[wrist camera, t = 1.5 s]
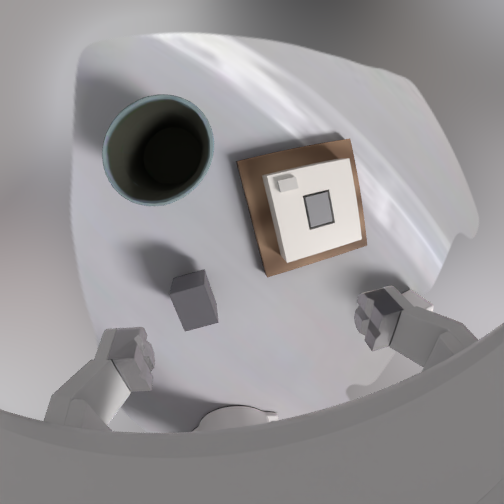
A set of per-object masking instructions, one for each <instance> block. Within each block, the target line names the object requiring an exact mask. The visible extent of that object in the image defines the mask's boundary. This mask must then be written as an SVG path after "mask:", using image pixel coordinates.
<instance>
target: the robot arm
mask: <svg viewBox="0 0 504 504" xmlns="http://www.w3.org/2000/svg"><path fill="white" fill-rule="evenodd" d="M357 303H358V304H359V307H358V308H357V309H356V311H355V316H354V320H355V325H356V328H357V330H358V331H359V333H361V334H363V335H365V342H366V343H367V345H368V346H369V348H370V349H371V351H375V350H378V349H382V348H385V347H388V346H390V348H392V349H394V350H395V351H397V352H399V353H400V354H402V355H404V356H405V357H407V358H409V359H410V360H412V361H414V362H415V363H417V364H419V365H420V366H422V367H424V368H423V370H422V372H421V373H419V374H416V375H414V376H412V377H410V378H408V379H406V380H403V381H401V382H399V383H396V384H394V385H391V386H389V387H387V388H384V389H382V390H379V391H377V392H374V393H371V394H369V395H366V396H364V397H360V398H357V399H355V400H352V401H349V402H346V403H342V404H339V405H336V406H333V407H329V408H326V409H323V410H319V411H315V412H312V413H308V414H304V415H300V416H296V417H291V418H287V419H282V420H278V414H277V413H273V412H263V411H260V410H258V409H255V408H251V407H245V406H232V407H225V408H221V409H218V410H215V411H213V412H210V413H209V414H207V415H206V416H205V417H204V418H203V419H202V420H201V422H200V424H199V426H198V427H197V428H196V429H194V430H193V431H192V432H179V433H132V432H114V431H112V430H111V429H110V428H109V427H108V426H107V425H108V424H109V423H110V421H111V420H112V418H113V417H114V416H115V414H116V413H117V411H118V410H119V409H120V407H121V406H122V405H123V403H124V402H125V401H126V399H127V398H128V396H129V395H130V394H131V392H138V391H152V384H153V375H152V373H151V371H152V369H153V368H154V365H155V358H154V351H153V348H152V345H151V343H149V342H148V341H146V339H147V333H146V331H145V329H144V328H143V327H133V328H118V329H117V328H116V329H106V330H105V331H104V333H103V336H102V338H101V341H100V344H99V347H98V350H97V353H96V356H95V359H94V360H90V361H89V362H88V363H87V364H86V365H85V366H84V367H82V368H81V369H80V370H79V371H78V372H77V373H76V374H75V375H73V376H72V377H71V378H70V379H69V380H68V381H67V382H66V383H65V384H64V385H62V386H61V387H60V388H59V389H58V390H57V391H56V392H55V393H54V394H53V395H52V396H51V399H50V402H49V405H48V409H47V412H46V415H45V419H44V421H40V420H36V419H32V418H27V417H24V416H20V415H17V414H13V413H9V412H6V411H4V410H1V409H0V504H504V323H503V324H501V325H500V326H498V327H497V328H496V329H494V330H493V331H491V332H490V333H488V334H487V335H486V336H484V337H482V338H481V339H479V340H478V339H477V338H476V337H475V336H474V335H473V334H472V333H471V332H470V331H469V330H468V329H467V328H466V326H464V324H463V323H460V322H458V321H455V320H453V319H450V318H447V317H444V316H442V315H439V314H437V313H434V312H432V311H429V310H426V309H424V308H421V307H418V306H415V307H414V306H413V305H412V304H411V303H410V302H409V301H408V300H407V299H406V298H405V297H404V296H403V295H402V294H401V293H400V292H399V291H398V290H397V289H396V288H395V287H394V286H391V285H390V286H386V287H383V288H380V289H376V290H372V291H368V292H363V293H360V294H359V296H358V299H357Z"/></svg>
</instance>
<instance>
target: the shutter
mask: <svg viewBox="0 0 504 504" xmlns="http://www.w3.org/2000/svg"><path fill="white" fill-rule="evenodd" d="M303 198H304V203H305V208H306V213H307V218H308V223H309V226H310V227H314V226H318V225H321V224H325V223H328V222H332V221H333V220H332V214H331V208H330V203H329V197H328V192H321V193H317V194H313V195H309V196H305V197H303Z"/></svg>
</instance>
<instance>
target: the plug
mask: <svg viewBox="0 0 504 504" xmlns="http://www.w3.org/2000/svg"><path fill="white" fill-rule="evenodd" d="M169 295H170V298H171V300H172V302H173V305H174V307H175V310H176V312H177V314H178V316H179V319H180V321H181V323H182V326H183V328H184V330H185V331H189V330H192V329H196V328H200V327H204V326H207V325H211V324H215V323H218V314H217V304H216V301H215V298H214V295H213V293H212V290H211V287H210V284H209V281H208V278H207V275H206V272H205V269H204V270H200V271H197V272H194V273H190V274H187V275H183V276H180V277H176V278H174V279H173V282H172V286H171V290H170V294H169Z"/></svg>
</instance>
